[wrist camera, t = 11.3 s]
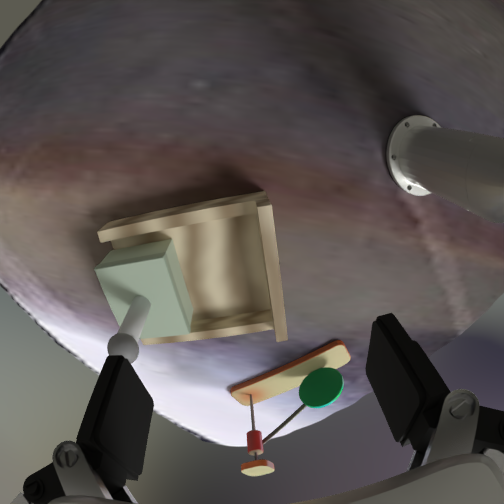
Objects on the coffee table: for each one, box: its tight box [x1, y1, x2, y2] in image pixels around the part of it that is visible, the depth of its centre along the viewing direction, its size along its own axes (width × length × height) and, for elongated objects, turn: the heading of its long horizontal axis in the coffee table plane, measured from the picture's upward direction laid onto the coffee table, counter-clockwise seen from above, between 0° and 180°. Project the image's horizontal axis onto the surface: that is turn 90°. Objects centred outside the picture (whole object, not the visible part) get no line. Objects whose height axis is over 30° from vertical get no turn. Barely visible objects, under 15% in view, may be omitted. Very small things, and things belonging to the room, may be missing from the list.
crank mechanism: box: [231, 340, 351, 476], centre depth 45 cm, size 25×7×19 cm, turn 121°
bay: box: [97, 191, 288, 345], centre depth 39 cm, size 23×20×7 cm
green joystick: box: [94, 239, 193, 364], centre depth 33 cm, size 10×12×17 cm
